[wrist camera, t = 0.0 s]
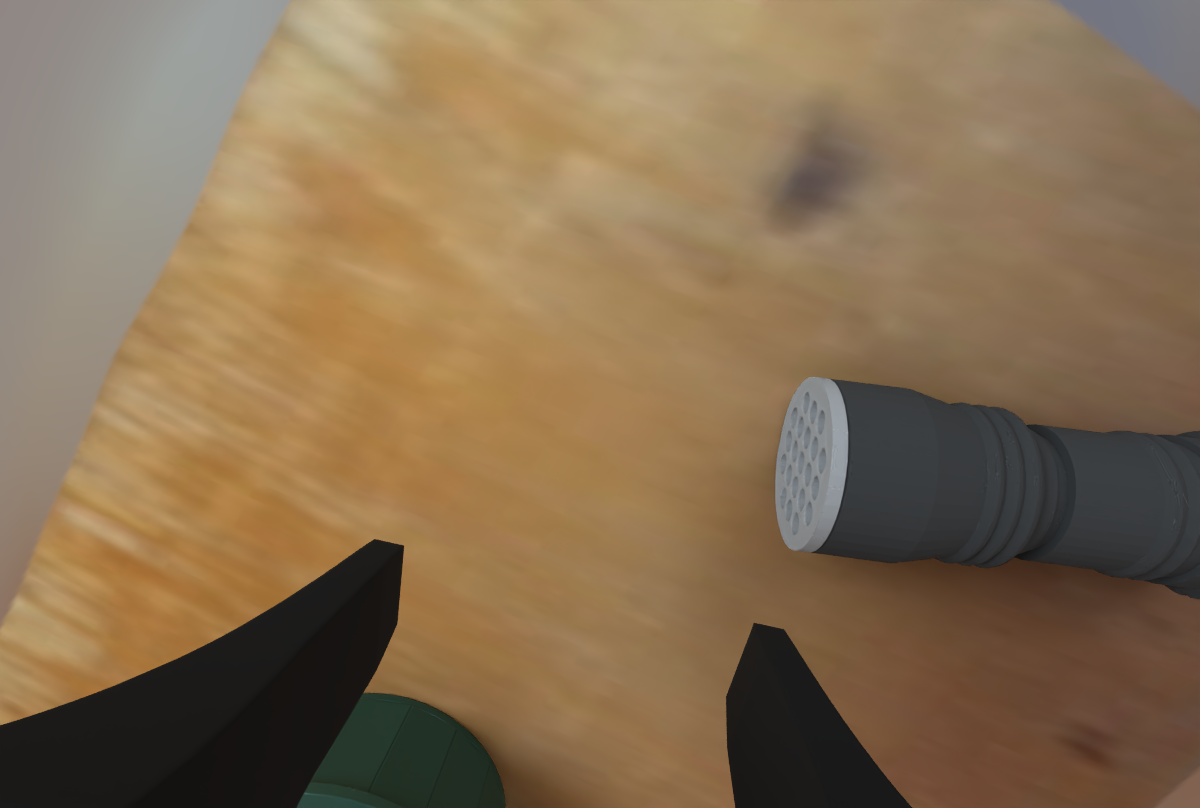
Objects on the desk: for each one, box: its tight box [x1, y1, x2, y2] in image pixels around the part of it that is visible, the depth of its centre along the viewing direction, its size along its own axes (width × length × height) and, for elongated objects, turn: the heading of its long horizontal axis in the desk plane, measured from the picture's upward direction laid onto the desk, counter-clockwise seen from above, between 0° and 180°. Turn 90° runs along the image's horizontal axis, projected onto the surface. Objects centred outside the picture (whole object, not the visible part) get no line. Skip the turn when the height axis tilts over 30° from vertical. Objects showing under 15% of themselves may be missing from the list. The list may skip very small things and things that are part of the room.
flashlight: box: [775, 377, 1200, 599], centre depth 19 cm, size 15×5×5 cm, turn 83°
